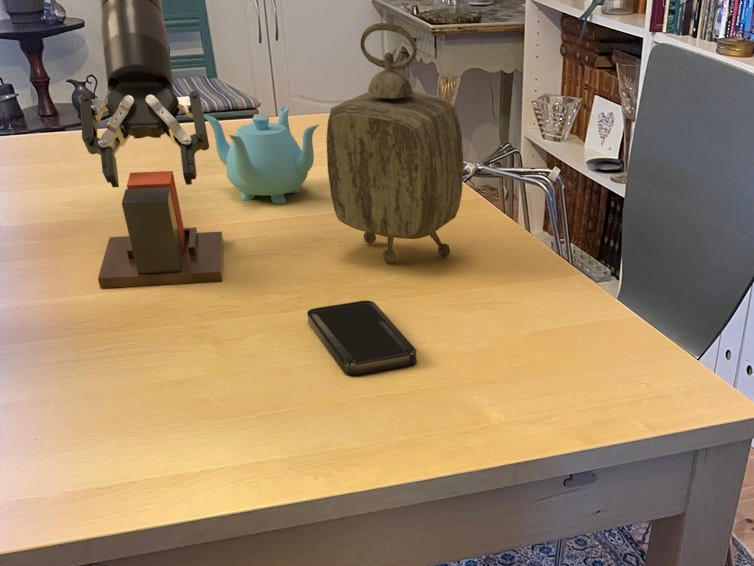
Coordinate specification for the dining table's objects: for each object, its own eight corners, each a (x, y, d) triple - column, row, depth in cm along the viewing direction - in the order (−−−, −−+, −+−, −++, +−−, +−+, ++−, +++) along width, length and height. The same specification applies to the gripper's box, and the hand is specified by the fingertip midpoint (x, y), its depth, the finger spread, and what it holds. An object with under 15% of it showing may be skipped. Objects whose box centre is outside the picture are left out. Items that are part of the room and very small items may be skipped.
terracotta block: (142, 254, 115) (126, 185, 109) (145, 240, 118) (130, 172, 113) (184, 252, 115) (170, 183, 110) (185, 238, 119) (172, 170, 114)
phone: (346, 366, 93) (304, 309, 103) (347, 377, 94) (305, 319, 104) (420, 353, 95) (372, 298, 105) (420, 363, 96) (373, 308, 106)
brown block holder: (100, 288, 110) (78, 206, 104) (111, 246, 120) (92, 169, 114) (222, 281, 112) (208, 200, 106) (223, 240, 122) (210, 164, 116)
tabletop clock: (463, 255, 119) (463, 23, 102) (432, 280, 113) (426, 37, 96) (364, 237, 123) (348, 12, 107) (328, 260, 117) (306, 24, 101)
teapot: (240, 214, 130) (228, 133, 123) (212, 187, 139) (199, 111, 132) (327, 200, 135) (320, 122, 128) (295, 175, 143) (287, 101, 136)
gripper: (65, 31, 108) (80, 167, 107) (192, 29, 110) (207, 162, 109) (83, 74, 115) (97, 201, 115) (202, 71, 117) (216, 196, 117)
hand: (151, 182), depth 112 cm, fingers open, 8 cm apart
